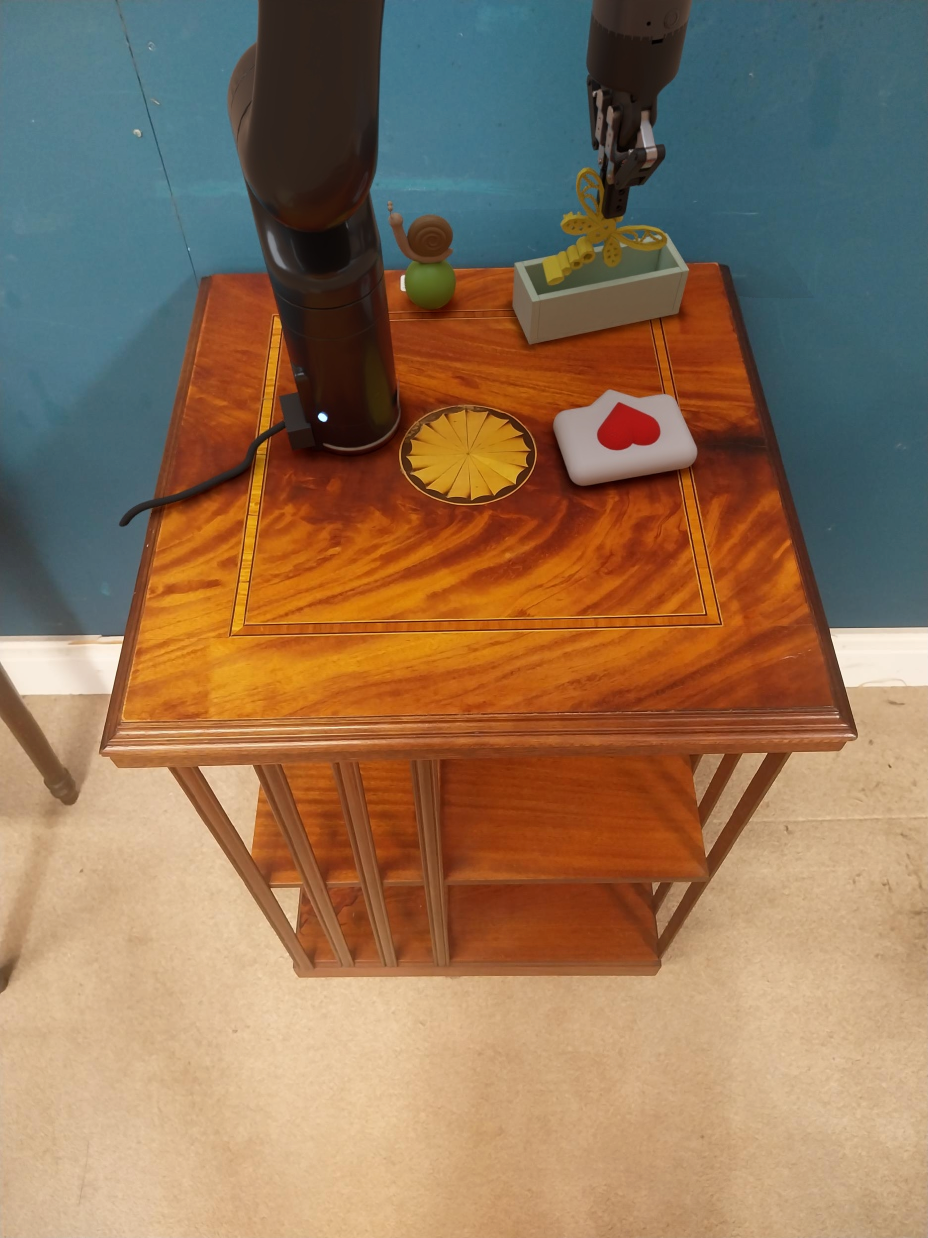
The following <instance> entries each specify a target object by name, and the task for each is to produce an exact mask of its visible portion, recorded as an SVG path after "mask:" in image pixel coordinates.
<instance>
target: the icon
mask: <svg viewBox="0 0 928 1238" xmlns="http://www.w3.org/2000/svg"><path fill="white" fill-rule="evenodd" d="M552 428H553V432H554V435H555V438H556V441H557V445H558V447H559V449H560V452H561V455H562V458H563V461H564V465H565V468H566V470H567V474H568V476H569V478H570V480H571V481H572V482H573V483H574V484H575V485H577V486H581V487H584V486H591V485H597V484H603V483H608V482H613V481H619V480H620V481H621V480H625V479H632V478H637V477H642V476H648V475H653V474H659V473H666V472H672V471H677V470H683V469H687V468H689V467H691V466H692V465H693V464H694V463H695V461H696V460H697V458H698V457H697V456H698V446H697V445H696V443H695V441H694V438H693V436H692V434H691V431H690V429H689V427H688V425H687V423H686V420H685V418H684V416H683V414H682V411H681V409H680V407H679V404H678V402H677V400H676V399H675V397H673V396H672V395H670V394H666V393H661V394H655V395H654V394H653V395H648V396H642V397H636V396H633V395H629V394H626V393H623V392H619V391H617V390H613V389H607V390H606V391H605V392H604V393H602V395H600V396H599V397H598V398H597V399H596V400H594V402H592V404H590V405H588V406H582V407H577V408H571V409H565V410H562V411H560V412H558V413H557V414H556V416H555V418H554V420H553V424H552Z"/></svg>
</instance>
